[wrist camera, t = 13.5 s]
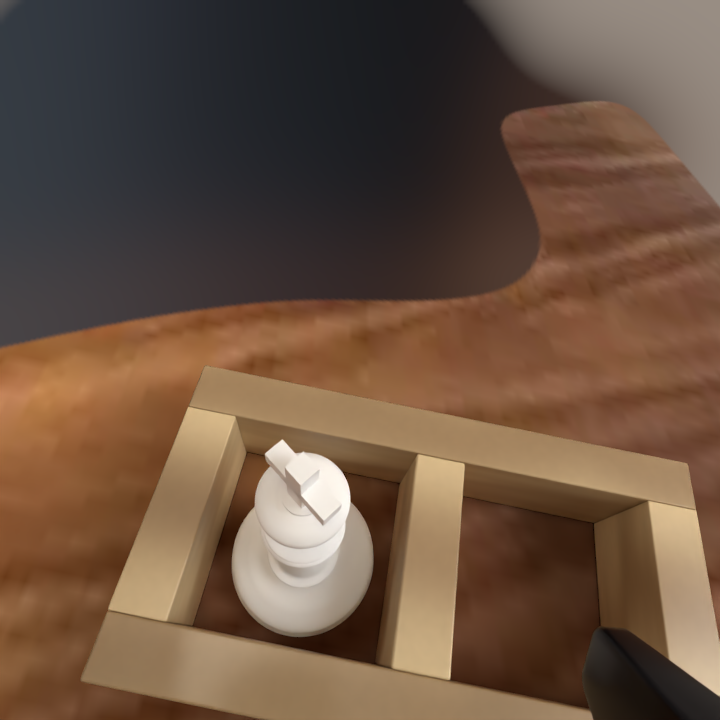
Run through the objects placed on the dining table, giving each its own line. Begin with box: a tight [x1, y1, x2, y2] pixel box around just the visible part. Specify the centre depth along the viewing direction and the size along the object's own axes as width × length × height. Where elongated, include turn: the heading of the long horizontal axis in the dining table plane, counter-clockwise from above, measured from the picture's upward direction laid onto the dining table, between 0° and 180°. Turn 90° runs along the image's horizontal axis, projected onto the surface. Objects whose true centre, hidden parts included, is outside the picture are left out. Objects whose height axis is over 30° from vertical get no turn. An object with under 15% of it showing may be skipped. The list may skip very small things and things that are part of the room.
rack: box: [81, 365, 720, 720], centre depth 16 cm, size 9×17×4 cm, turn 80°
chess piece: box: [232, 439, 374, 637], centre depth 13 cm, size 5×5×10 cm
